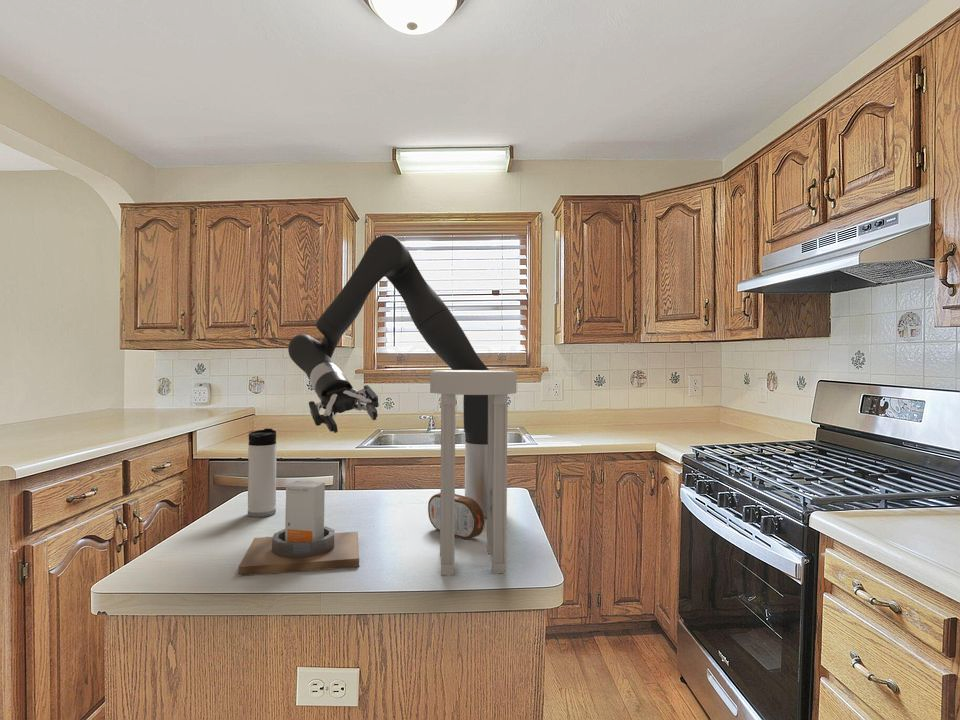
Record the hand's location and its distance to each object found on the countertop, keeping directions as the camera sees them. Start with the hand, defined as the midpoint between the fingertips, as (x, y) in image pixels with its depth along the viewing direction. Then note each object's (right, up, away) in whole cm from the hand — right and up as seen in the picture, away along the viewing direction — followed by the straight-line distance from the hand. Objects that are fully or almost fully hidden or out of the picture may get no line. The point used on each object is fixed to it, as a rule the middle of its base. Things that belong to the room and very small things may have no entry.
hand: (355, 423), depth 117 cm
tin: (+21, -24, +1) cm, 32 cm away
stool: (+25, -24, -15) cm, 37 cm away
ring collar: (-7, -22, -12) cm, 26 cm away
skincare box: (-7, -22, -12) cm, 26 cm away
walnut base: (-7, -24, -12) cm, 27 cm away
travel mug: (-26, -24, +16) cm, 39 cm away
